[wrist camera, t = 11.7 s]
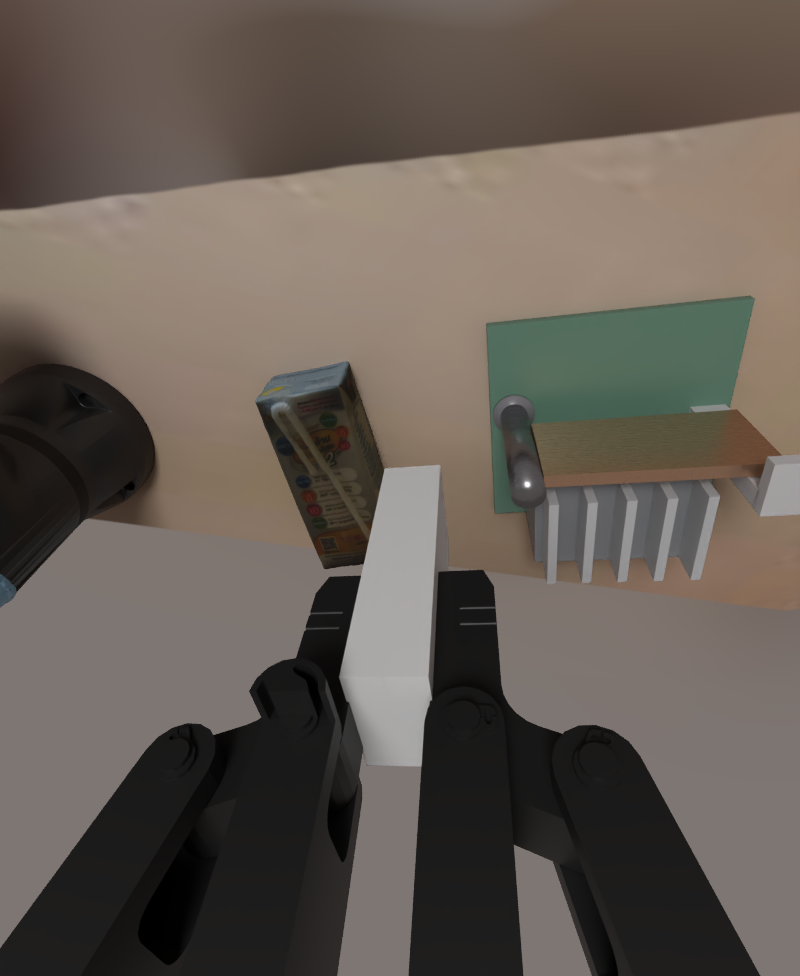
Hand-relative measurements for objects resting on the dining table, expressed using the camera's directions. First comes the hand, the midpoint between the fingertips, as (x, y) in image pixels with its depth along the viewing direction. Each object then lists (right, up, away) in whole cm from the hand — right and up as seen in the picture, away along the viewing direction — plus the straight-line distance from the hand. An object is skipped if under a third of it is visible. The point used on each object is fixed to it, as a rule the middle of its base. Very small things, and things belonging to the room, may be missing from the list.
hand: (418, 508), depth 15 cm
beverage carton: (-6, +4, +38) cm, 39 cm away
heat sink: (+18, +7, +33) cm, 38 cm away
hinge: (+17, +7, +31) cm, 36 cm away
